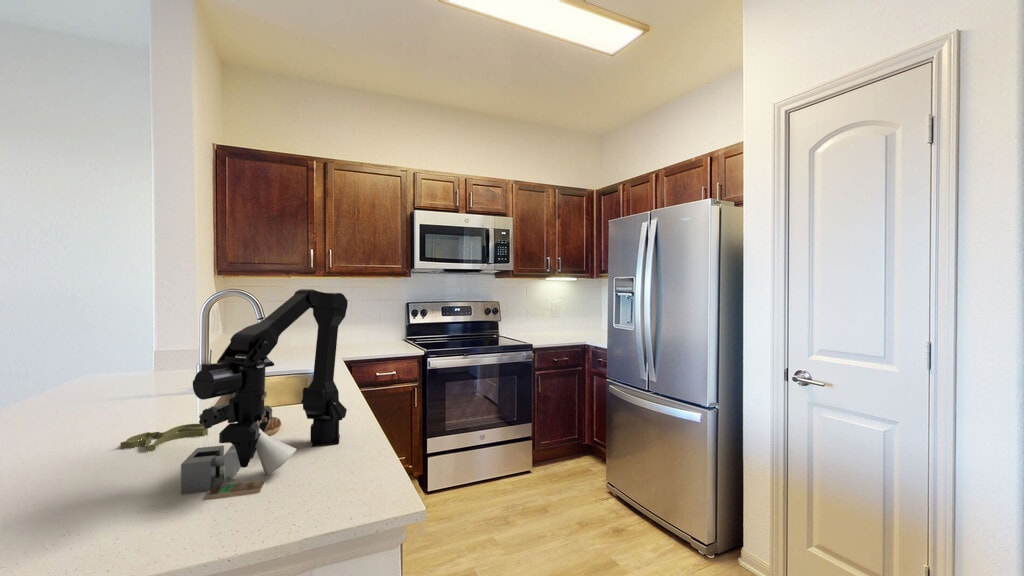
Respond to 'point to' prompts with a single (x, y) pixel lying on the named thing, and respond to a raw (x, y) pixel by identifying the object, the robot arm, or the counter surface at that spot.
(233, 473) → the gauge plunger
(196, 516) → the counter surface
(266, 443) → the flask
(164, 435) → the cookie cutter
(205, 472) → the gauge housing
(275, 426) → the donut
